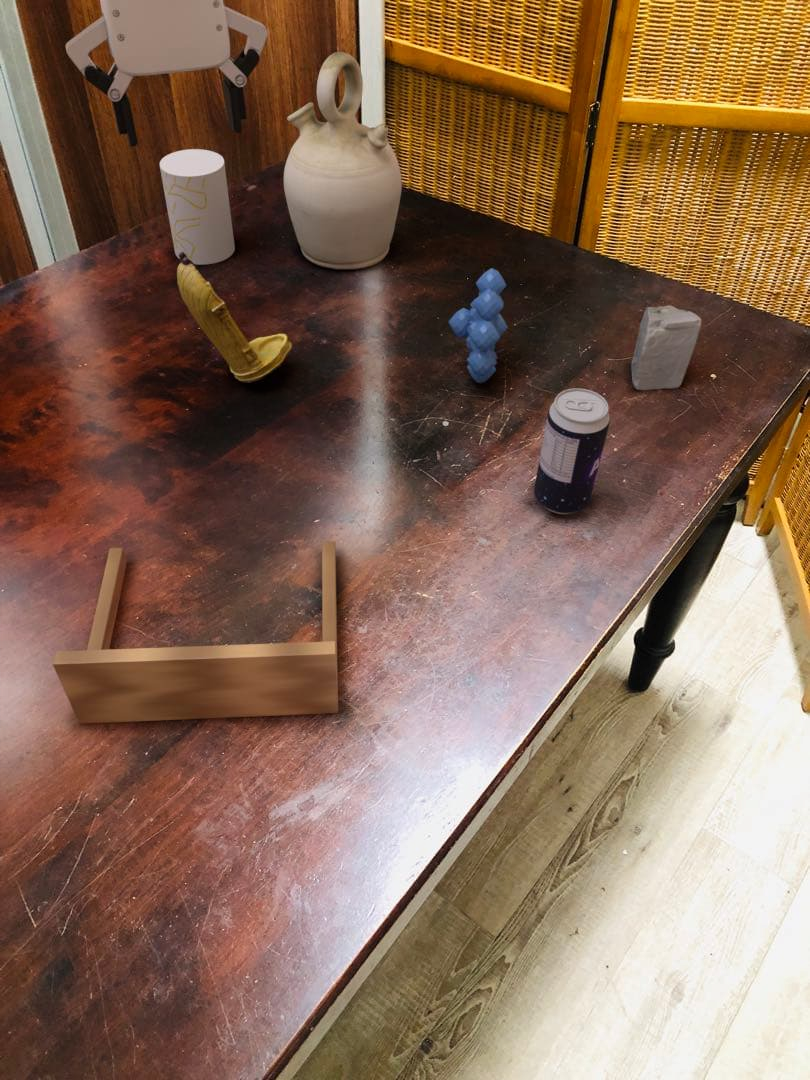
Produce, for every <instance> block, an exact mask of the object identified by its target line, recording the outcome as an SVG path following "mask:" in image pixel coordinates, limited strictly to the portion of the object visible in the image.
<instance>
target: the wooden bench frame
mask: <svg viewBox="0 0 810 1080" xmlns="http://www.w3.org/2000/svg"><path fill="white" fill-rule="evenodd" d="M321 547H322V548H321V555H322V556H321V574H322V575H321V580H322V581H321V594H322V595H321V616H322V617H321V621H322V622H321V628H322V629H321V630H322V631H321V634H322V635H321V638H322V639H321V641H304V642H301V641H300V642H276V643H275V642H274V643H250V644H249V643H246V644H224V645H223V644H222V645H221V644H219V645H194V646H193V645H192V646H170V647H169V646H166V647H165V646H164V647H139V648H137V647H135V648H114V649H113V648H111V643H112V638H113V634H114V629H115V624H116V620H117V619H116V618H117V614H118V608H119V605H120V604H119V603H120V599H121V593H122V589H123V584H124V579H125V573H126V569H127V564H128V561H127V556H126V554H125V550H124V547H110V548H109V549H108V555H107V559H106V563H105V566H104V567H105V568H104V572H103V577H102V580H101V585H100V589H99V594H98V599H97V603H96V608H95V612H94V616H93V621H92V624H91V630H90V634H89V637H88V638H89V639H88V644H87V648H86V649H83V650H82V649H81V650H80V649H79V650H57V651H55V654H54V657H53V662H52V666H53V668H54V670H55V673H56V675H57V677H58V679H59V682H60V684H61V686H62V688H63V691H64V693H65V695H66V697H67V700H68V702H69V705H70V707H71V708H72V711H73V713H74V715H75V718H76V720H77V722H78V724H79V725H84V724H104V723H105V724H106V723H108V724H109V723H128V722H129V723H131V722H133V723H134V722H148V721H149V722H154V721H177V720H178V721H179V720H181V721H182V720H201V719H203V720H204V719H205V720H206V719H225V718H226V719H227V718H228V719H229V718H246V717H247V718H250V717H274V716H299V715H320V714H321V715H324V714H338V713H339V674H338V673H339V671H338V668H339V667H338V665H339V664H338V610H337V607H338V605H337V601H338V600H337V553H336V552H337V551H336V550H337V549H336V541H322V542H321Z"/></svg>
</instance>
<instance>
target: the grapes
mask: <svg viewBox="0 0 810 1080" xmlns="http://www.w3.org/2000/svg"><path fill="white" fill-rule="evenodd" d="M475 284H476V286H477V289H478V290H479V292H478V293H477V295H478V296H477V297H476V298H474V299H473V301H472V302H471V303H470V304H469V305H470V307H471V308H470V309H467V308H466V307H462V308H461V309H459V310H457V311H456V312H455V313H454V314H453V315H452V317H450V319H449V320H448V324H449V326H450V328H451V330H452V331H453V333H454V334H455V336H456V337H457V338H460V339H465V338H466V339H465V341H466V343H465V345H466V346H467V348H468V350H469V351H470V352H469V354H468V357H467V359H466V362H467V366H466V369H467V371H468V373H469V374H470V376H471V378H472V379H473V381H474V382H476V383H478V384H483V383H485V382H486V381H488V380H489V379H490V378H491V377H492V376H493V375H494V373H496V371H497V369H496V365H497V363H498V361H497V359H498V355H497V354H496V351H495V349H496V343H497V342H498V341H499V340H500V338H501V336H503V334H504V333H505V332H506V331H507V330H508V328H509V327H508V325H507V323H506V321H505V319H504V318H503V316H502V315H501V313H500V312H501V311H502V310H503V308H505V307H504V304H505V302H504V301H503V299H502V296H501V293H502V292H503V291H504V290H505V288H506V287H507V283H506V282H505V279H504V278H503V276H502V274H501V273H500V272H499V270H497V269H495V268H492V267H491V268H490V269H487V271H485V272H483V274H482V275H481V276H480V277H479V278H478V279H477V281H476V282H475Z"/></svg>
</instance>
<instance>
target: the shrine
mask: <svg viewBox="0 0 810 1080" xmlns="http://www.w3.org/2000/svg"><path fill="white" fill-rule="evenodd" d="M179 258H180V259H179ZM179 258H178V259H179V260H180V263H179V264H178V267H177V269H176V279H177V281H176V282H177V287H178V289H179V293H180V297H181V299H182V300H183V302H184V304H185V305H186V307H187V309H188V311H189V312H190V315H192V316H193V319H194V320H195V321H196V323H197V325H199V327H200V328H201V330H202V331H203V333H204V334H205V335H206V337H207V338H208V339H209V341H210V342H211V343H212V344H213V346H214V347H215V348H216V349H217V351H218V352H219V353H220V355H221V356H222V358H223V359H224V361H226V363H227V364H228V366H229V369H230V370H229V371H230V373H231V374H233V377H234V379H236V380H238V381H239V382H242V383H249V384H250V383H252V382H256V381H260V380H261V379H263V378H266V376H268V375H270V374H271V373H273V372H274V371H276V370H277V369H278V368H280V367H281V366H282V365H283V363H284V362H285V360H286V358H287V356H288V355H289V354H290V352H291V351H292V349H293V344H292V342H291V341H289V340H288V339H289V337H288V334H286V333H277V334H271V335H267V336H260V337H257V338H254V339H252V340H251V341H249V342H248V340H247V339H246V337H245V335H244V334H243V333H242V331H241V330H240V328H239V326H238V325H237V324H236V322H235V320H234V319H233V317H232V315H231V314H230V311H229V310H228V309H227V306H226V303H225V301H224V300H223V299H221V297H219V296H218V294H217V293H215V291H214V288H213V286H212V285H211V282H210V281H209V280H208V281H207V280H206V279H205V278H204V277H203V275H202V274H201V273H200V271H199V270H198V269H199V268H198V266H197V265H196V264H194V263H193V262H192V261H191V260H190V259H188V257H187V255H186V254H185V253H184V252H181V253H179Z"/></svg>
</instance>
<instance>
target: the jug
mask: <svg viewBox="0 0 810 1080" xmlns="http://www.w3.org/2000/svg"><path fill="white" fill-rule="evenodd" d="M341 71H342V72H343V76H344V94H343V98H342V101H341V103H340V105H339V106H338V107H337V105H336V100H335V99H336V98H335V90H336V84H337V80H338V77H339V74H340V72H341ZM363 79H364V78H363V74H362V70H361V67H360V64H359V63H358V61H357V60H356V58H354V56H352V55H351V54H349V53H348V52H343V51H335V52H333V53H331V54H330V55H329V56H328V57H327V58H326V59H325V60H324V62H323V63H322V65H321V67H320V70H319V73H318V77H317V82H316V100H317V105H318V108H319V111H320V113H321V114H322V116H323V118H325V120H327V121H326V122H322V121H319V120H318V119H317V116H316V112H315V104H314V103H313V102H308V103H307V104H305V105H304V106H302V107H300V108H299V109H297V110H296V111H295V112H293V113H291V114H290V115H288V116H287V118H286V120H287V122H289V123H290V124H292V125H293V126H294V127H295V128H297V129H298V131H299V136H298V138H297V140H296V141H295V142H294V144H293V145H292V147H291V148H290V151H289V153H288V155H287V159H286V162H285V165H284V171H283V189H284V195H285V201H286V203H287V209H288V213H289V216H290V221H291V223H292V226H293V229H294V232H295V236H296V239H297V243H298V244H299V247H300V250H301V253H302V255H303V256H304V258H305V259H306V260H308V261H309V262H311V263H313V264H314V265H317V266H319V267H322V268H326V269H331V270H339V271H340V270H347V271H348V270H359V269H360V270H361V269H365V268H368V267H372V266H374V265H377V264H379V263H380V262H381V261H383V260H384V259H385V258H386V256H387V255H388V253H389V251H390V244H391V242H392V239H393V236H394V232H395V227H396V222H397V218H398V212H399V208H400V202H401V196H402V187H403V183H402V174H401V168H400V165H399V162H398V159H397V156H396V153H395V152H394V149H393V147H392V146H391V145H390V143H389V138H388V134H389V128H388V126H387V125H386V124H385V123H380V124H378V125H376V126H375V127H369V126H367V125H366V124H365V125H364V124H363V123H359V122H358V120H357V117H356V114H357V113H358V110H359V109H360V106H361V103H362V98H363V91H364V80H363Z"/></svg>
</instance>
